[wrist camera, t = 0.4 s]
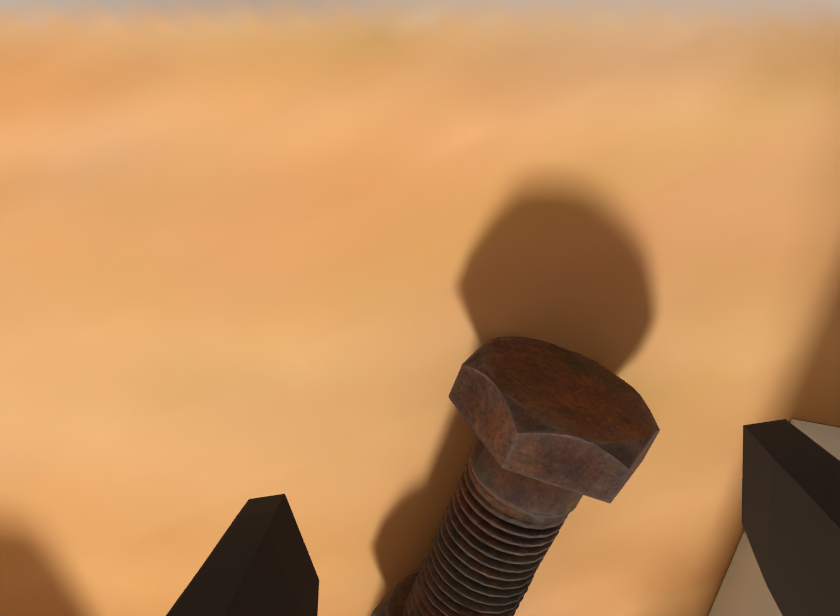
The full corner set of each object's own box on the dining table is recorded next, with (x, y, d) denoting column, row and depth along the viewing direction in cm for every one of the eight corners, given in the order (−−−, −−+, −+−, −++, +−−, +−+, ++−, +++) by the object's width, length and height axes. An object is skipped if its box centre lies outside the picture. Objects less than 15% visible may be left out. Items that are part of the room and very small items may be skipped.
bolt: (388, 636, 29) (532, 318, 23) (492, 725, 27) (679, 402, 21) (291, 735, 24) (439, 365, 18) (408, 851, 22) (618, 479, 16)
